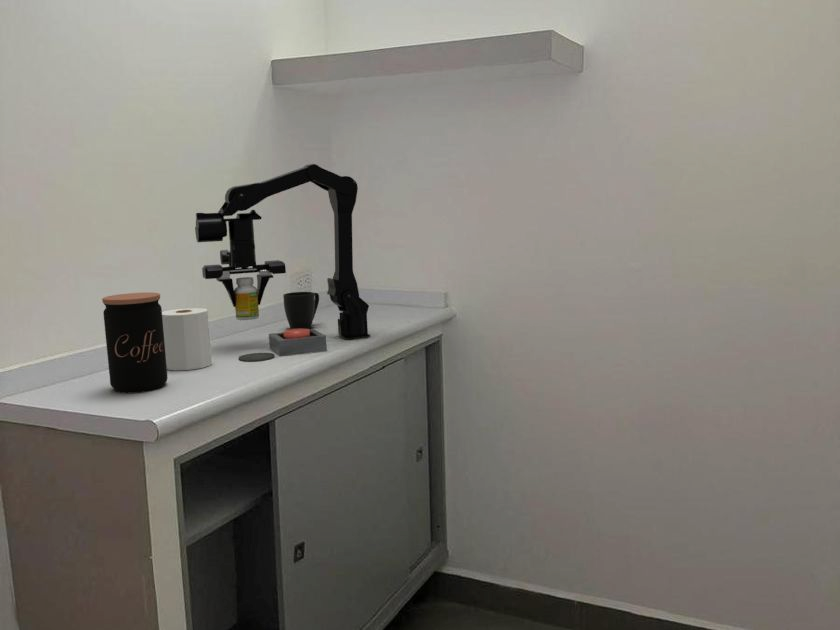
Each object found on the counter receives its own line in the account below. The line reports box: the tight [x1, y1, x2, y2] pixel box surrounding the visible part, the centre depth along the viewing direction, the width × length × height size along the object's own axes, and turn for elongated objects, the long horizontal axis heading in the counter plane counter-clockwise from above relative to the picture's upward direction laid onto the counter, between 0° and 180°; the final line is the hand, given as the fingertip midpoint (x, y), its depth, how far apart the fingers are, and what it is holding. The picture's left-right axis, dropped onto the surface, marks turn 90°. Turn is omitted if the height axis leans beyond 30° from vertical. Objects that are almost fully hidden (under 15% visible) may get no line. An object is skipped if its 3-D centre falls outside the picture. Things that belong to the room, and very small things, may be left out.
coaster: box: [238, 352, 276, 363], centre depth 187 cm, size 8×8×1 cm
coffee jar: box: [101, 292, 168, 394], centre depth 162 cm, size 11×11×18 cm
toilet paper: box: [162, 307, 213, 371], centre depth 181 cm, size 10×10×12 cm
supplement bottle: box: [234, 276, 260, 321], centre depth 198 cm, size 5×5×10 cm
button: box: [283, 328, 311, 339], centre depth 195 cm, size 6×6×2 cm
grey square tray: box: [268, 328, 328, 357], centre depth 195 cm, size 11×11×4 cm
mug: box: [282, 291, 320, 330], centre depth 226 cm, size 8×12×10 cm
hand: (246, 305), depth 198 cm, fingers closed on supplement bottle, 5 cm apart
